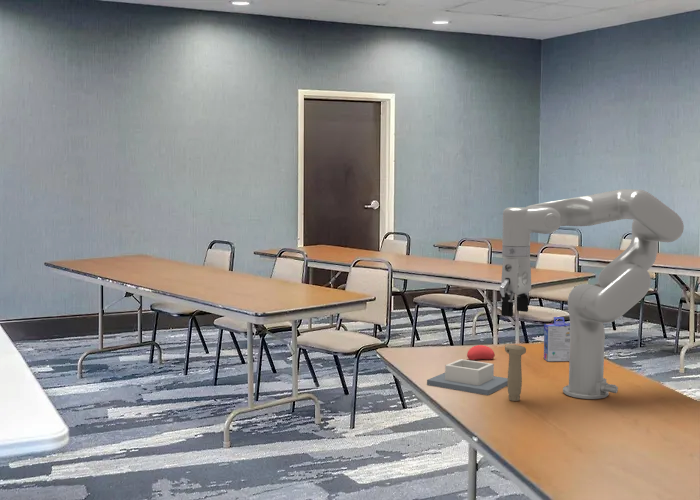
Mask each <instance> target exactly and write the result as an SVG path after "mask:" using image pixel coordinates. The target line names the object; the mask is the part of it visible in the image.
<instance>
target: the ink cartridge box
mask: <svg viewBox="0 0 700 500" xmlns="http://www.w3.org/2000/svg"><path fill="white" fill-rule="evenodd" d="M569 358H570V322H569V323H567V322H565V317H564V316H553V323H543V359H544V360H545V361H546V362H569Z"/></svg>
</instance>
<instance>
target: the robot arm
mask: <svg viewBox="0 0 700 500" xmlns="http://www.w3.org/2000/svg"><path fill="white" fill-rule="evenodd" d="M621 220H633V221H632V224H631V240H630V243H629V244H628V246H627V247H626V248H625V250H624V251H622V252H621V253H620V254H619V255H618V256H617V257H615V258H614V259H613V260H612V261H610V262H609V263H608V264H606V265H605V266H604V267H603V268H602V270H601V271H600V272H599V274H598V277H597V278H598V279H597V281H598V284H599V285H596V284H590V283H581V284H578V285H577V286H574V287H573V288H572V289H571V290H570V292H569V295H568V299H567V308H568V315H569V323H570V358H569V361H568V362H569V363H568V364H569V365H568V366H569V369H568V384H567V385H565V386H564V387H563V388H562V393H563V394H565V395H566V396H569V397H570V398H571V397H573V398H575V399H586V400H597V399H598V400H600V399H605V398H607V397H608V396H609V393H613V394H617V393H618V391H619V390H618V389H619V387H618V386H617V385H616V384H611V383H608V382H607V378H604V366H605V363H604V362H605V342H606V341H605V340H606V331H605V325H604V324H610V323H613V322H615V321H617V320H618V319H620V318H621V317H622V316H624V315H625V314H626V313H627V312H629V310H630V309H632V308H634V306H636V305H637V304H638V303H639V302H640V301H641V300H642V299H643V298H644V297H645V296H646V295H647V293H649V292H648V291H649V290H650V287H651V283H652V281H651V280H652V278H651V275H650V273H649V271H648V270H650V269H651V268H652V267H653V265H654V264H655V262H656V259H657V254H658V242H659V243H672V242H675V241H677V240H679V238H681V236H682V235H683V234H684V229H685V228H684V227H685V226H684V222H683V219H682V218H681V216H680V215H679V214H678V213H677V212H675V211H674V210H673V209H672V208H670V206H668V205H666V204H665V203H664V202H662V201H661V200H660V199H659V198H657V197H656V196H654V195H653V194H652V193H649V191H646V190H643V189H633V188H631V189H630V188H623V189H617V190H614V189H613V190H610V191H604V192H600V193H595V194H594V193H592V194H589V195H584V196H583V195H581V196H577V197H576V196H575V197H570V198H565V199H558V200H552V201H545V202H540V203H535V204H530V205H527V206H525V207H522V206H521V207H520V206H517V207H516V206H515V207H514V206H512V207H511V206H510V207H509V206H508V207H506V208H505V209H504V210H503V211H502V241H501V243H502V244H501V245H502V249H501V250H502V251H501V257H502V258H503V261H502V269H501V280H500V281H501V285H500V286H499V295H500V301H501V314H500V315H501V316H502V317H509V318H510V317H511V318H512V317H513V316H514V301H513V298H514V297H515V296H514V295H517V296H516V310H517V312H524V313H525V312H526V313H527V312H528V311H529V297H530V291H531V290H532V267H531V258H530V257H531V234H533V233H535V234H542V235H550V234H553V233H555V232H557V230H559V228H560V227H590V226H595V225H601V224H604V223H610V222H616V221H621Z"/></svg>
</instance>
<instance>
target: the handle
mask: <svg viewBox="0 0 700 500" xmlns="http://www.w3.org/2000/svg"><path fill="white" fill-rule="evenodd" d="M504 351H505V352H506V354H508V370H507V378H508V380H507V381H508V382H507V386H506V387H507V393H508V400H509V401H512V402H518V401H519V402H520V399H521V394H522V385H523V383H522V382H523V376H522V375H523V374H522V371H523V370H522V356H523V355H525V354H526V352H527V348H526V347H525V346H523V345H518V344H507V345H505V346H504Z"/></svg>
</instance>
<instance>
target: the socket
mask: <svg viewBox="0 0 700 500" xmlns="http://www.w3.org/2000/svg"><path fill="white" fill-rule="evenodd" d="M494 366H495V364H494V363H491V362H490V363H489V362H482V361H478V360H470V359H465V358H464V359H462V358H460V359H457V360H454V361H453V362H450V363H447V364H445V365H444V367H445V368H444V372H443V373H440V374H439V375H435V376H433V377H430V378H428V379H426V385H427V386H431V387H437V388H443V389H449V390H453V391H454V390H455V391H459V392H461V391H462V392H465V393H466V392H467V393H470V394H471V393H472V394H476V395H477V394H478V395H483V396H490V395H491V394H494V393H495V392H498V391H500V390H502V389H504V388H506V387H508V386H507V382H508V381H507V380H508V377H501V376H497V375H495V374H494V372H495V371H494V368H495V367H494Z"/></svg>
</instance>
